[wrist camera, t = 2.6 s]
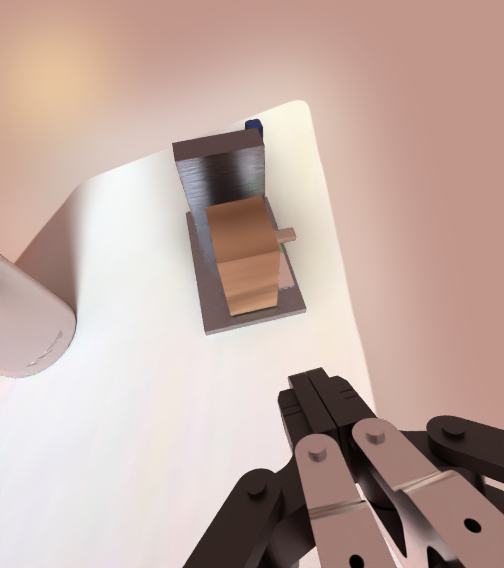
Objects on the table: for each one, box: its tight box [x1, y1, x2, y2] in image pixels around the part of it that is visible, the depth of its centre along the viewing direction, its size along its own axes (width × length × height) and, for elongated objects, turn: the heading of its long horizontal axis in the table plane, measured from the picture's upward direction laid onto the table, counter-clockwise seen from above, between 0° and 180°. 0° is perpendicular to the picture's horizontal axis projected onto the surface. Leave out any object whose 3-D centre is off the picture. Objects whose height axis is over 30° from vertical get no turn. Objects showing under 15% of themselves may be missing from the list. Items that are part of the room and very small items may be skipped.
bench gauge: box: [172, 128, 306, 335], centre depth 31 cm, size 17×11×11 cm, turn 13°
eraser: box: [245, 119, 263, 140], centre depth 41 cm, size 2×2×7 cm
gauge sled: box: [205, 196, 296, 316], centre depth 28 cm, size 6×7×10 cm
